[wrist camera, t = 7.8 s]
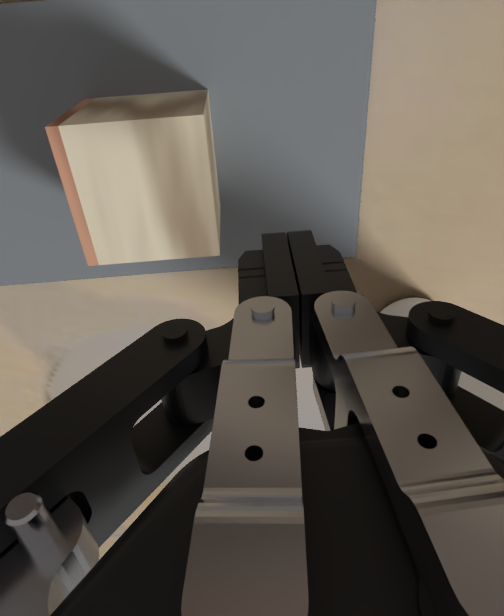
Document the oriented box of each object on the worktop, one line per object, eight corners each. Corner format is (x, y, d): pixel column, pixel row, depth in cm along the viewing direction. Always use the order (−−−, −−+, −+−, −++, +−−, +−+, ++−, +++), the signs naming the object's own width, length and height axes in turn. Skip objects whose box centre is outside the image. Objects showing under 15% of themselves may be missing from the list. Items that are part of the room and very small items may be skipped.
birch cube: (203, 114, 17) (44, 126, 17) (219, 255, 20) (87, 265, 20) (207, 89, 22) (85, 98, 22) (220, 205, 25) (114, 214, 25)
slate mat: (375, -25, 20) (378, -25, 19) (354, 254, 28) (355, 257, 27) (-164, 16, 20) (-170, 16, 19) (-30, 285, 28) (-33, 288, 27)
